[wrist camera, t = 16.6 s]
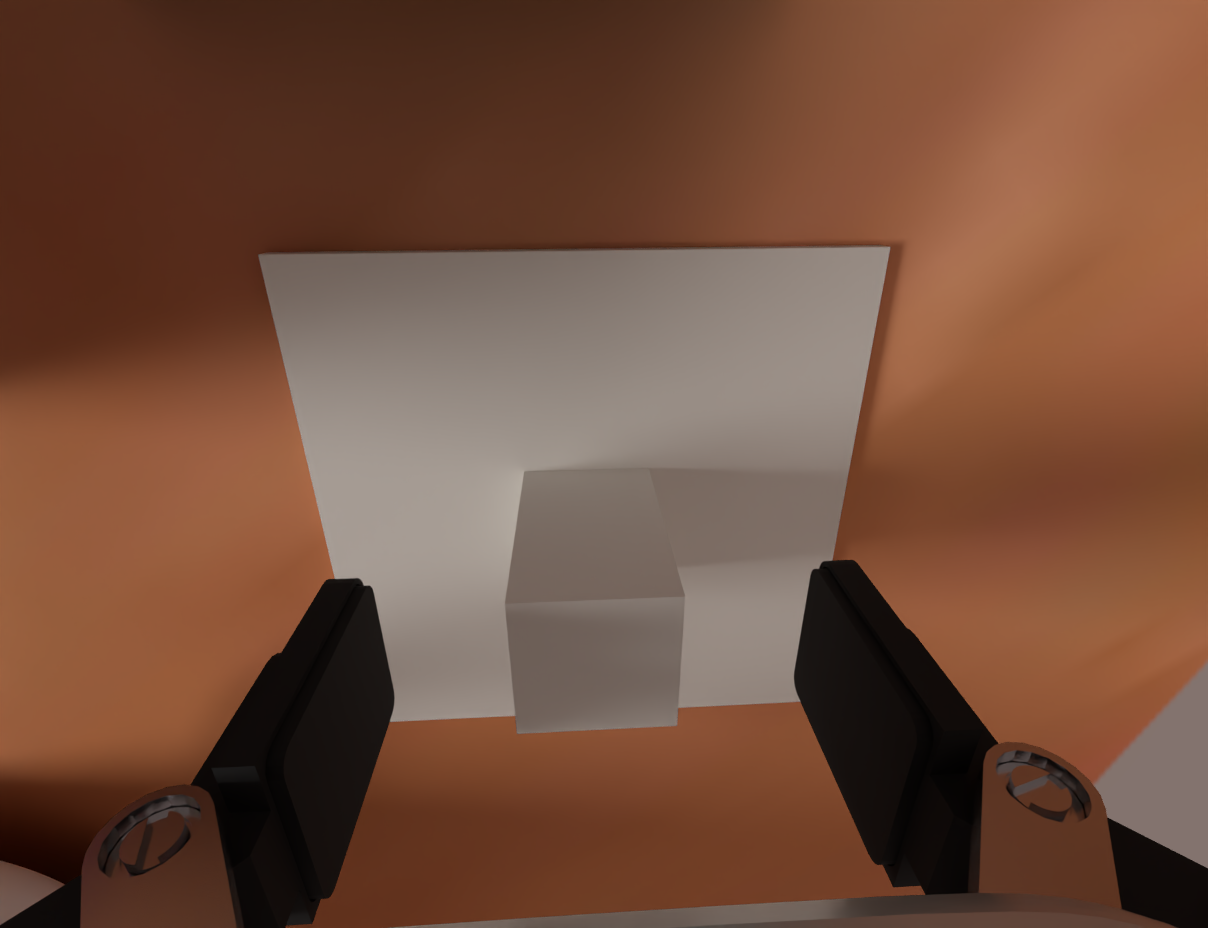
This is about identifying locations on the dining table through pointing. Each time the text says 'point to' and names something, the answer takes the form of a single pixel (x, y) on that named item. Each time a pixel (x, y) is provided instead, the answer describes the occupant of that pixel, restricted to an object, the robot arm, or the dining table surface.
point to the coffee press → (22, 889)
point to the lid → (580, 464)
